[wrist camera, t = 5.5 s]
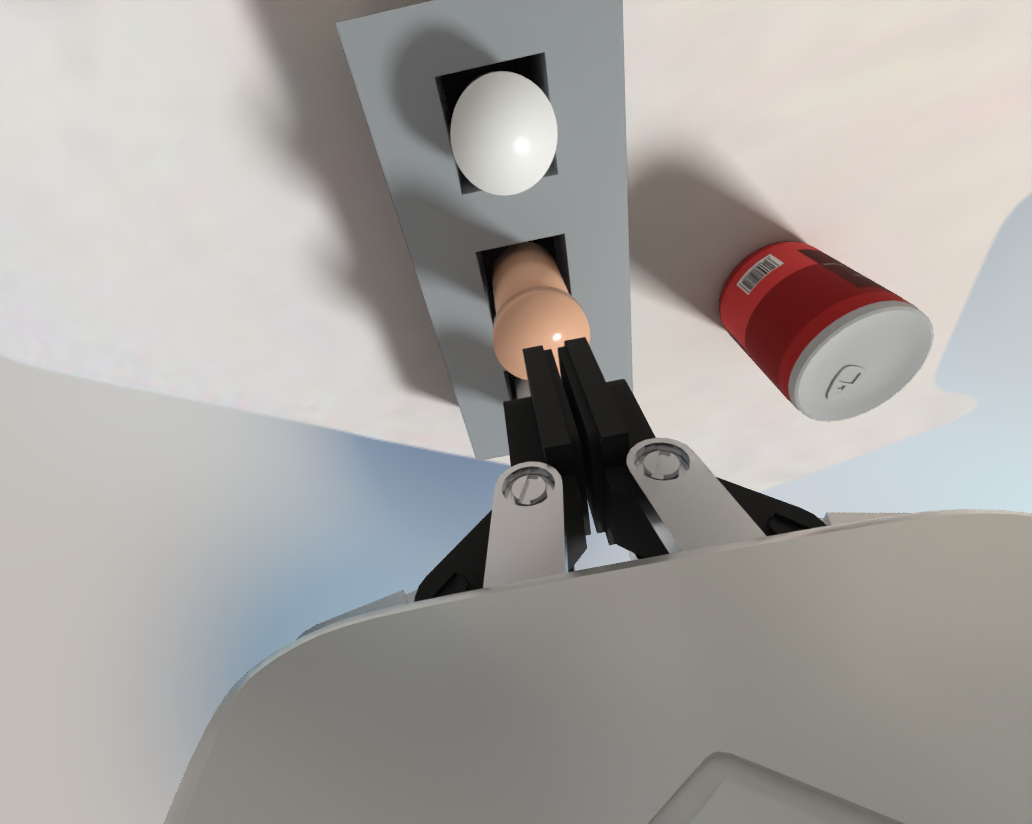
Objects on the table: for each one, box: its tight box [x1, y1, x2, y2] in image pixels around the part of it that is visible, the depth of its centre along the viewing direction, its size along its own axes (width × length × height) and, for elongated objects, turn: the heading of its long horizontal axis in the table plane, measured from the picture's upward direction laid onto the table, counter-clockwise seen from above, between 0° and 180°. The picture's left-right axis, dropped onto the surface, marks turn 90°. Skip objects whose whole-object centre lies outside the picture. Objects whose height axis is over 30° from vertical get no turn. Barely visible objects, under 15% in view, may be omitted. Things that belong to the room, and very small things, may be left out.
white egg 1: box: [450, 71, 558, 195], centre depth 23 cm, size 5×5×8 cm
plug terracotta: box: [492, 242, 590, 380], centre depth 25 cm, size 5×5×8 cm
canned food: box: [719, 242, 934, 422], centre depth 31 cm, size 8×8×11 cm
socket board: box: [335, 0, 633, 461], centre depth 30 cm, size 26×12×6 cm, turn 10°
